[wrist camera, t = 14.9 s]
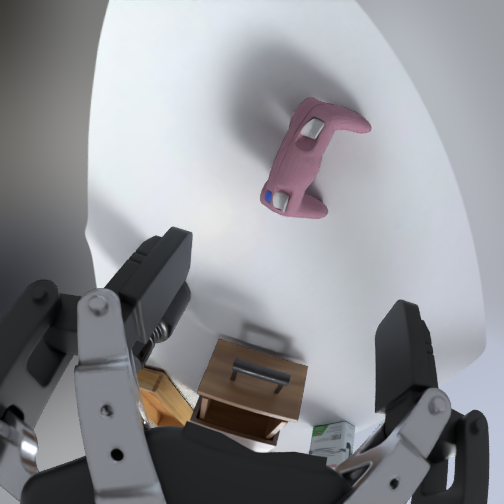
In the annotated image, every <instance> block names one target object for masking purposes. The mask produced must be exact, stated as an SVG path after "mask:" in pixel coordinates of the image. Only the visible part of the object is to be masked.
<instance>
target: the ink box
mask: <svg viewBox="0 0 504 504" xmlns="http://www.w3.org/2000/svg"><path fill="white" fill-rule="evenodd" d="M354 433H355V427H354V426H352V425H350V424H349V423H347V422H345V421H344V422H340V423H334V424H329V425H324V426H318V427H313V433H312V439H311V445H310V450H309V455H315V456H322V457H327V463H326V465H327V466H329V467H331V468H333V469H334V468H336V467H337V466H338V465H339V464H341V463H342V462H343V461H345V460H346V459H348V458H349V457H350V456H351V455H352V453H353V443H354Z"/></svg>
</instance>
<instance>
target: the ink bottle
mask: <svg viewBox="0 0 504 504" xmlns="http://www.w3.org/2000/svg"><path fill="white" fill-rule="evenodd" d="M189 300H190V294H189V291H188V288H187V286H186V284H185V282H183V284H182V285H181V287H180V289H179V290H178V292H177V293H176V295H175V297H174V298H173V300H172V302H171V303H170V305H169V307H168V308H167V310H166V311H165V313H164V315H163V316H162V318H161V320H160V321H159V323H158V325H157V326H156V328H155V330H154V332H153V333H152V335H151V337H150V338H149V340H148V342H147V343H146V344H144V343H142V342H140V341H138V340H137V341H136V342H135V344H134V346H133V347H132V354H133V359H134V364H135V369H136V371H138V372H139V371H140V370H141V369H143V367H144V365H145V363H146V361H147V359H148V358H149V356H150V354H151V352H152V350H153V348H154V346H155V343H160V342H164V341H166V340H167V339H168V338H169V337H170V336H171V334H172V333H173V331H174V329H175V327H176V325H177V323H178V322H179V320H180V318H181V316H182V314H183V312H184V311H185V309H186V307H187V305H188V303H189Z"/></svg>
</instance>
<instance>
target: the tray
mask: <svg viewBox="0 0 504 504" xmlns="http://www.w3.org/2000/svg"><path fill="white" fill-rule="evenodd" d="M136 374H137V379H138V383H139V388H140V392H141V396H142V400H143V403H144V406H145V410H146V413H147V417H148V420H149V421H151V422H152V423H153V424H154V425H155V426H157V427H160V426H180V427H184V426H185V423H186V421H189V422H190V418H191V416H192V413H193V410H192V408H191V407H190V406H189V405H188V403H187V402H186V401H185V400H184V398H183V397H182V396H181V395H180V393H179V392H178V391H177V390H176V388H175V387H174V386H173V384H172V383H171V382H170V380H169V379H168V377H167V376H166V375H165V373H163V372H159V371H155V370H151V369H147V368H144V367H143V369H141V370H140V371H139V372H138V371H136Z"/></svg>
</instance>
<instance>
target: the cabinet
mask: <svg viewBox="0 0 504 504" xmlns="http://www.w3.org/2000/svg"><path fill="white" fill-rule="evenodd" d="M202 397H203V395H200V396H199V399H198V401H197V403H196V406H195V408H194V411H193V413H192V416H191V418H190V422H191V423H194V424H197V425H200V426H202V427H205V428H208V429H211V430H214V431H217V432H220V433H223V434H224V435H226V436H228V437H229V438H231V439H233V440H235V441H236V442H238V443H240V444H242V445H244V446H245V447H247V448H249V449H251V450H253V451H255V452H268V451H270V450H271V449H273V448H274V447H275V446H276V444H277V440H278V436H279V432H280V430H279V431H278V432H277V433H276V434H275V435H273V436H272V437H271V438H270V439H269V440H266V439H262V438H258V437H255V436H251V435H247V434H244V433H240V432H237V431H234V430H230V429H227V428H224V427H221V426H218V425H215V424H212V423H209V422H206V421H203V420H200V419H199V418H200V411H201V403H202Z"/></svg>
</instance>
